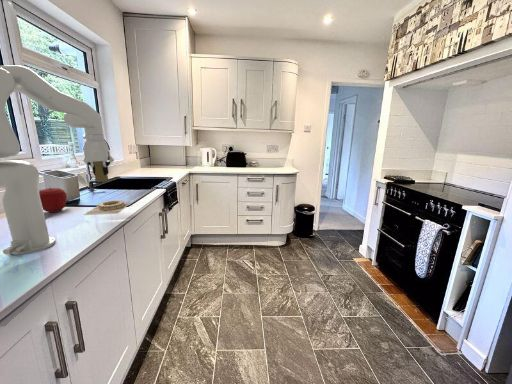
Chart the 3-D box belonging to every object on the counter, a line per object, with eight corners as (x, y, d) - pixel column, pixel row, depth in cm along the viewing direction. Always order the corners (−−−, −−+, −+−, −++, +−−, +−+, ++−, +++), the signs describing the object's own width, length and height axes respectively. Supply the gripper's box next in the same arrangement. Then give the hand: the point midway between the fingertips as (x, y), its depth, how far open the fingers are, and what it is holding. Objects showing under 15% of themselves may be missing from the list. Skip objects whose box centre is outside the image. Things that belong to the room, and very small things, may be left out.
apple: (43, 217, 117) (37, 190, 114) (37, 212, 124) (31, 187, 121) (72, 210, 126) (67, 186, 123) (65, 206, 133) (60, 183, 130)
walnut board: (118, 215, 120) (117, 213, 120) (83, 216, 118) (83, 215, 117) (131, 203, 139) (131, 202, 139) (102, 205, 137) (101, 203, 136)
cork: (102, 182, 119) (98, 160, 116) (92, 181, 120) (88, 159, 117) (111, 179, 125) (108, 158, 122) (101, 179, 126) (98, 158, 123)
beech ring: (119, 209, 126) (118, 205, 126) (94, 210, 124) (93, 206, 124) (127, 202, 138) (126, 199, 137) (104, 203, 136) (104, 200, 135)
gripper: (72, 138, 112) (79, 176, 117) (110, 138, 115) (115, 175, 119) (80, 138, 119) (87, 173, 124) (116, 138, 122) (121, 173, 126)
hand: (101, 174), depth 122 cm, fingers closed on cork, 4 cm apart
